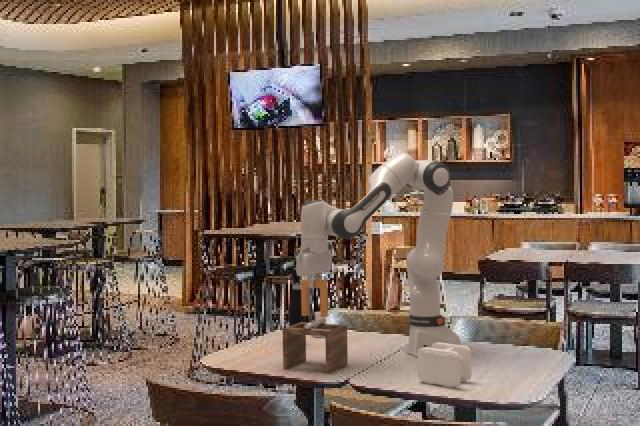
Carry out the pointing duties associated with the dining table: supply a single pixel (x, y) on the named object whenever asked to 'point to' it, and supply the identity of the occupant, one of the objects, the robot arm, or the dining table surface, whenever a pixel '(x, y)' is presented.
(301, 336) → the walnut shelf
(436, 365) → the cable organizer
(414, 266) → the robot arm
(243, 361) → the dining table surface
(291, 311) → the wine bottle
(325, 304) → the wooden u-shaped block
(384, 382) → the dining table surface
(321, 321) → the hook rod
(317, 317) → the salt shaker
